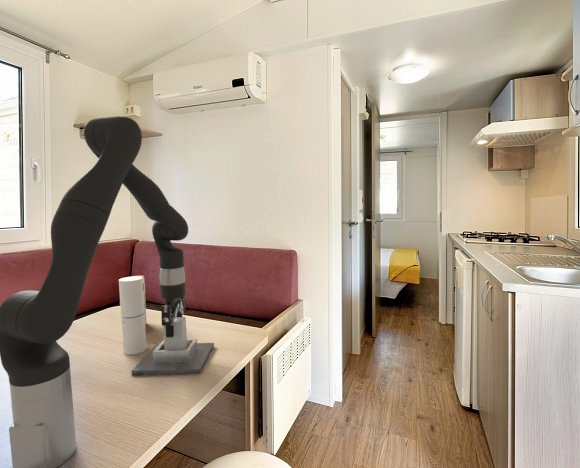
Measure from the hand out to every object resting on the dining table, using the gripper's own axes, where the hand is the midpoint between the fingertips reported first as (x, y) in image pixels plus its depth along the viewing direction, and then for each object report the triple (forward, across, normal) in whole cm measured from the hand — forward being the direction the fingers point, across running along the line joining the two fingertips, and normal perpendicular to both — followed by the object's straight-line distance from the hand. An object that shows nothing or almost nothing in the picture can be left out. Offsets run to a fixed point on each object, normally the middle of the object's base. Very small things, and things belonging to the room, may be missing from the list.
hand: (174, 331), depth 101 cm
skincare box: (+8, 0, 0) cm, 8 cm away
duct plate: (+10, 0, 0) cm, 10 cm away
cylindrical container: (+10, +8, +17) cm, 21 cm away
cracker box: (+10, +26, +24) cm, 37 cm away
